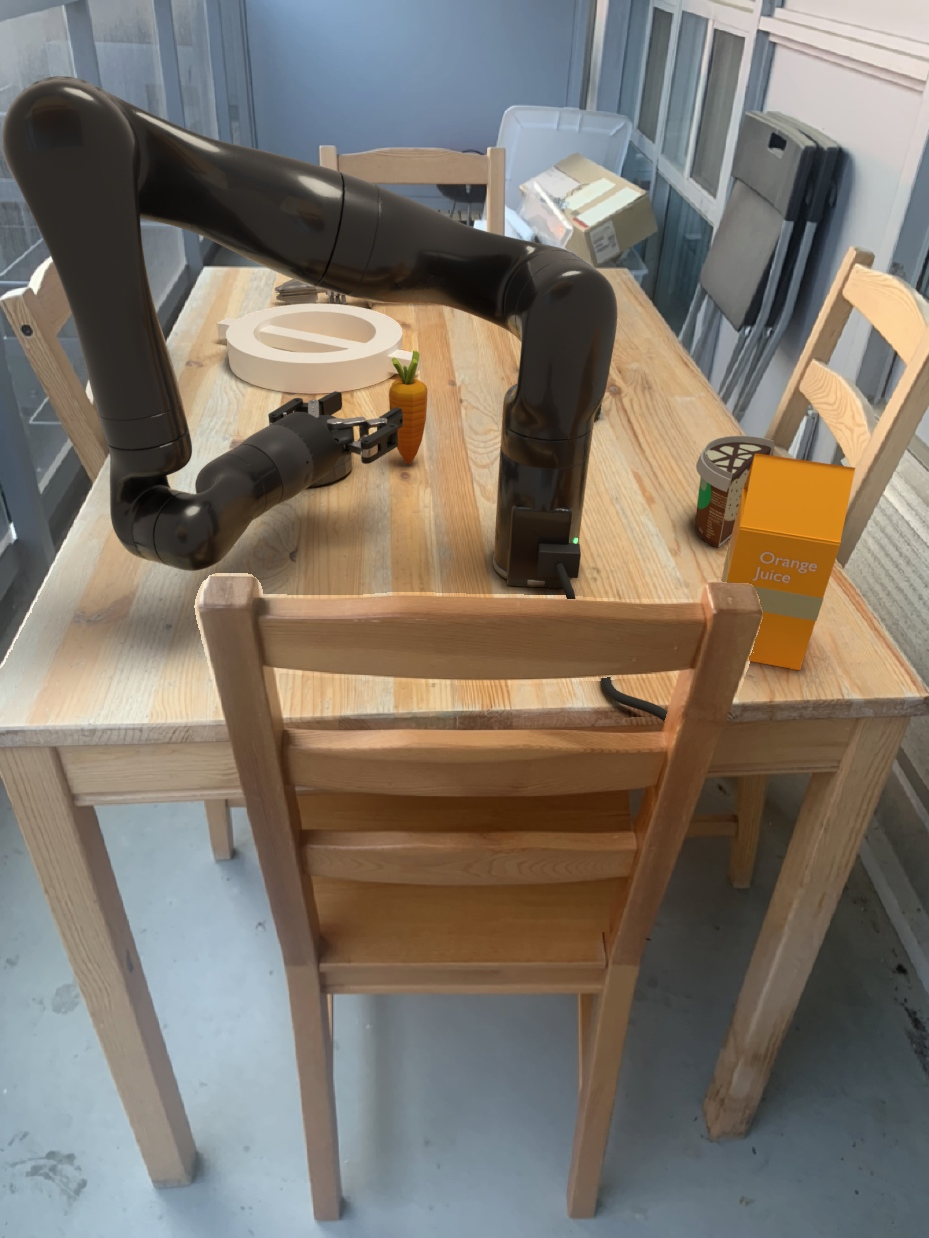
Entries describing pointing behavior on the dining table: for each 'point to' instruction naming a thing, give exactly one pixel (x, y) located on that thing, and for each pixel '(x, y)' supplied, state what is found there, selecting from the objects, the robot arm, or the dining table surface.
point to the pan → (337, 470)
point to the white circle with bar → (314, 347)
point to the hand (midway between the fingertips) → (369, 407)
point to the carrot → (409, 407)
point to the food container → (724, 483)
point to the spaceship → (305, 293)
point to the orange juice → (788, 548)
